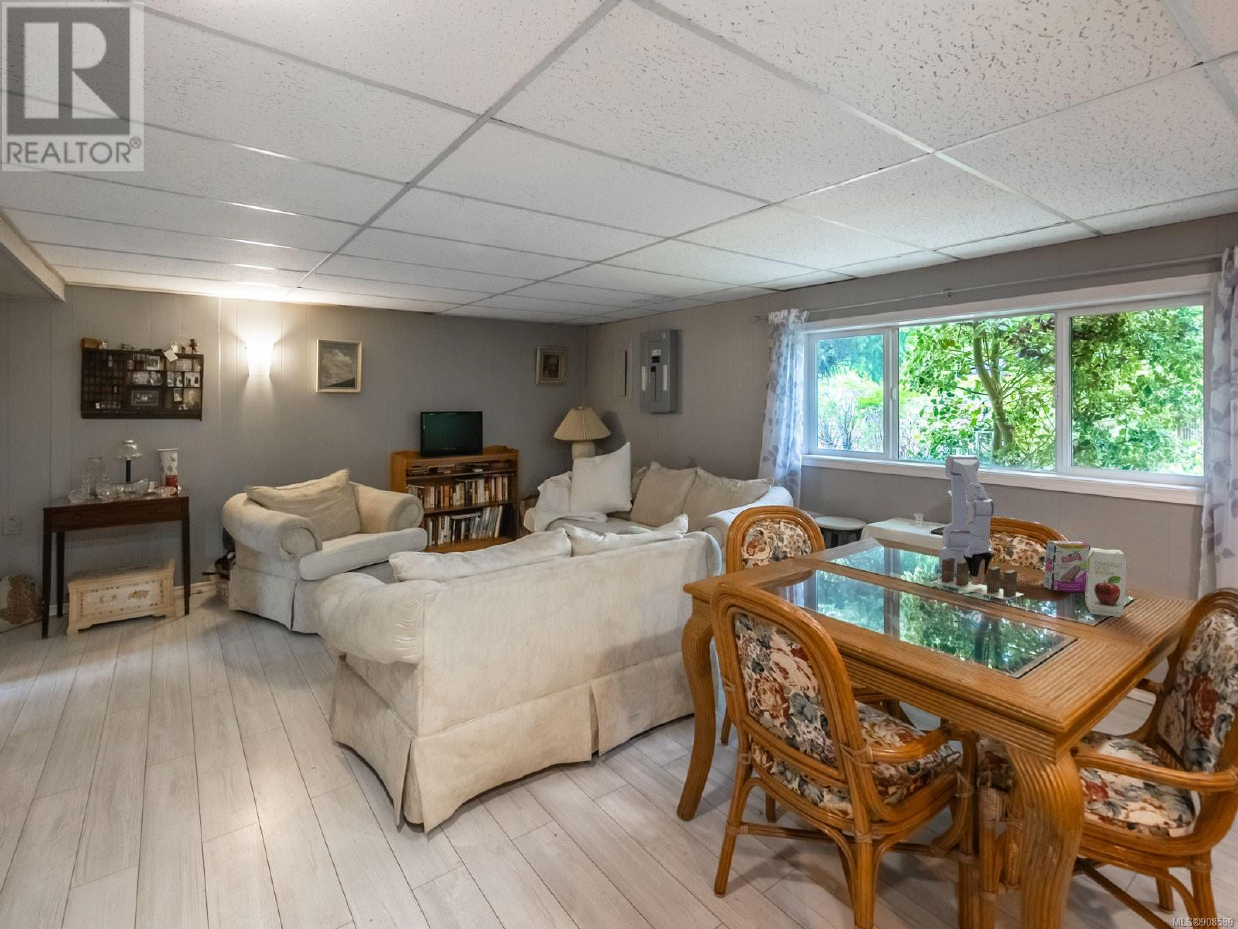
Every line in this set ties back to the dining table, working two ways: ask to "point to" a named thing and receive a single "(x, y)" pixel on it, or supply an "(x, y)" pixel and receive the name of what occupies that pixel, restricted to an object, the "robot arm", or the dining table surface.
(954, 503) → the robot arm
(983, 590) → the board
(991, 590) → the domino
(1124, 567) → the juice carton
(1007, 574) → the domino
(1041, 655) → the dining table surface
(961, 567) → the domino
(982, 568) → the domino
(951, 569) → the domino
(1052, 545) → the candy bar box
